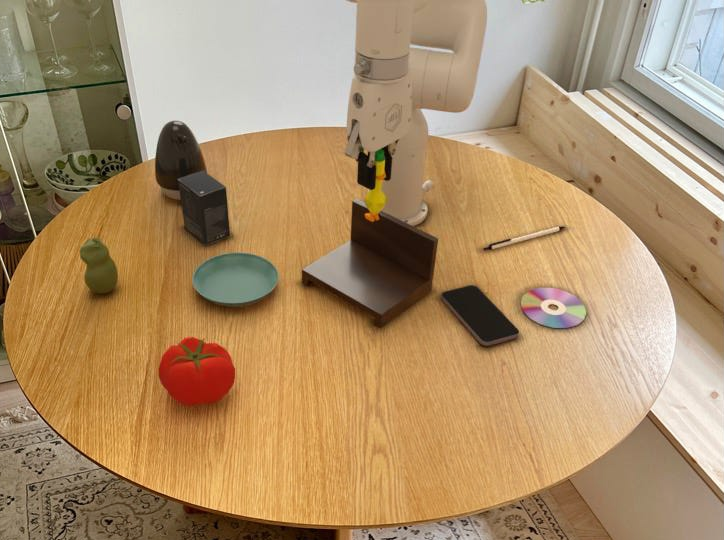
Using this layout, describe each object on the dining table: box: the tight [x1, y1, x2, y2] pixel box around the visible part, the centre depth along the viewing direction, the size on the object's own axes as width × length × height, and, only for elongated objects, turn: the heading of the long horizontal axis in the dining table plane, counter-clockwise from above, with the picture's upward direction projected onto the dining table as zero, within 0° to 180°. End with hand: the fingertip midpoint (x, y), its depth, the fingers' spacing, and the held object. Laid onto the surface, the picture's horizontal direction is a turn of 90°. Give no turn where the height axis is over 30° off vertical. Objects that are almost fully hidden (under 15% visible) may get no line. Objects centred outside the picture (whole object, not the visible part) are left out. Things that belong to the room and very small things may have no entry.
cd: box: [520, 287, 587, 329], centre depth 129 cm, size 11×11×1 cm
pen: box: [483, 226, 566, 251], centre depth 144 cm, size 1×19×1 cm, turn 116°
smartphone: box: [440, 284, 520, 347], centre depth 127 cm, size 7×1×15 cm
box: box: [178, 171, 231, 246], centre depth 139 cm, size 8×6×11 cm
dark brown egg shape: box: [154, 120, 208, 201], centre depth 147 cm, size 10×10×15 cm
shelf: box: [301, 198, 439, 330], centre depth 128 cm, size 14×18×11 cm
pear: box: [79, 237, 119, 295], centre depth 125 cm, size 6×5×10 cm
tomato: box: [158, 336, 236, 408], centre depth 109 cm, size 11×11×9 cm
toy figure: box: [364, 149, 387, 222], centre depth 117 cm, size 7×4×12 cm, turn 34°
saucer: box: [191, 252, 280, 308], centre depth 130 cm, size 15×15×3 cm
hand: (374, 180), depth 117 cm, fingers closed on toy figure, 3 cm apart
